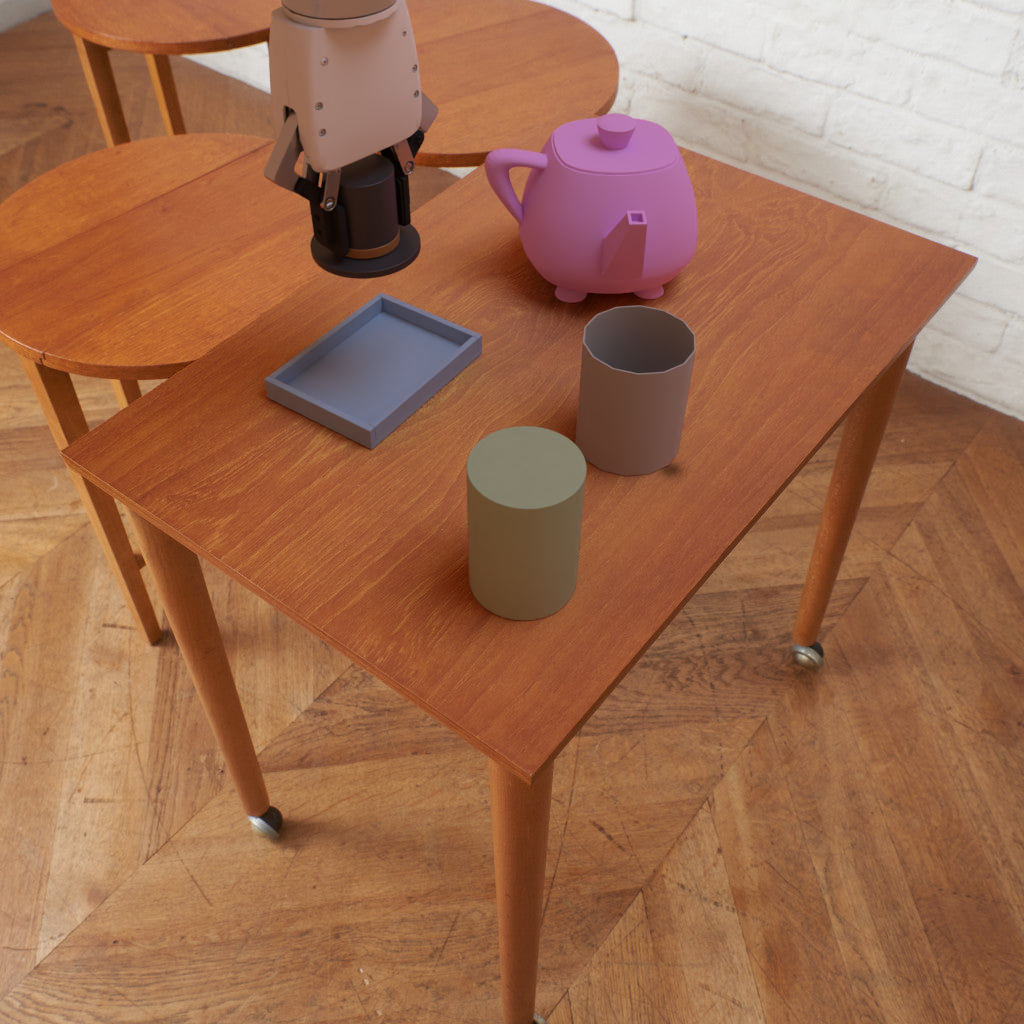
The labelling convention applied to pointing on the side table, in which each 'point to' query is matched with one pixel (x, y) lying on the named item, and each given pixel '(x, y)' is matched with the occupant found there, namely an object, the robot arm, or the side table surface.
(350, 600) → the side table surface
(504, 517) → the pedestal
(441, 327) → the tray
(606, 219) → the teapot
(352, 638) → the side table surface
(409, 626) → the side table surface
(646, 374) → the cup
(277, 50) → the robot arm
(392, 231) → the hat
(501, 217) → the side table surface
